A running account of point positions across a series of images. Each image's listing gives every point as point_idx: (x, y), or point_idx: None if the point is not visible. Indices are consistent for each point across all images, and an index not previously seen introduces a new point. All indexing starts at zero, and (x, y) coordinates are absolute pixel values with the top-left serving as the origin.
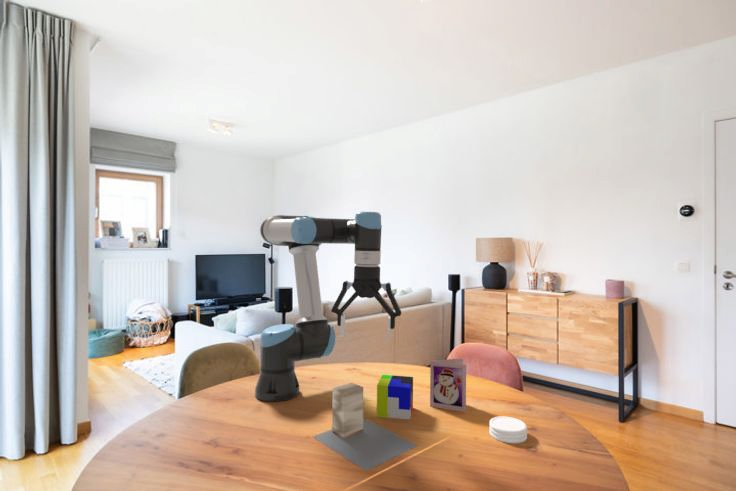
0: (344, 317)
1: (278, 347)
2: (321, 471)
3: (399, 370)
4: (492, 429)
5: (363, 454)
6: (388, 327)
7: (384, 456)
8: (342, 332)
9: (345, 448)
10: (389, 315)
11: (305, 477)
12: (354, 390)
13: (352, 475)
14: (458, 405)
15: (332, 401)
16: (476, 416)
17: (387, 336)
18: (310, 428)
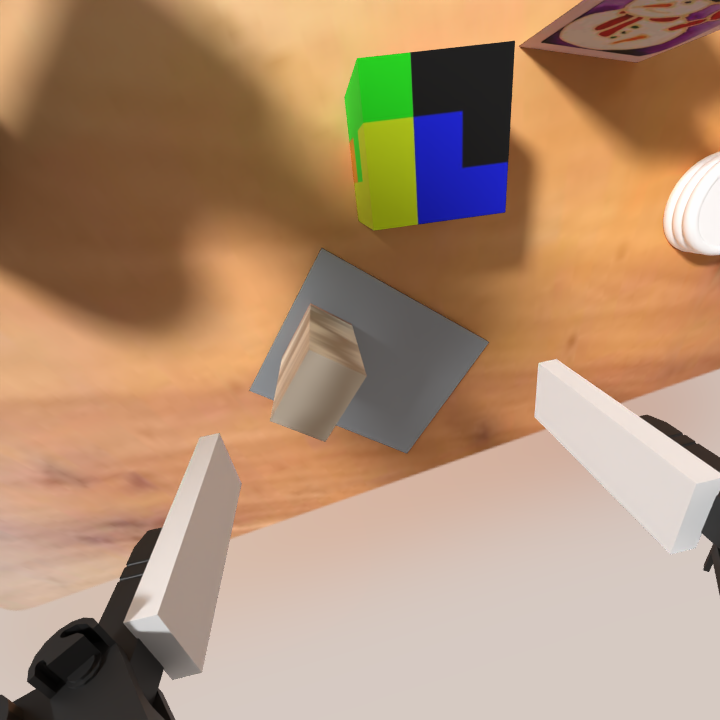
0: (188, 607)
1: None
2: (332, 474)
3: None
4: (681, 230)
5: (386, 412)
6: (607, 481)
7: (427, 404)
8: (229, 517)
9: None
10: (716, 575)
11: (315, 494)
12: (346, 406)
13: (386, 464)
14: (630, 54)
15: (274, 397)
16: (662, 93)
17: (553, 433)
18: (214, 350)
